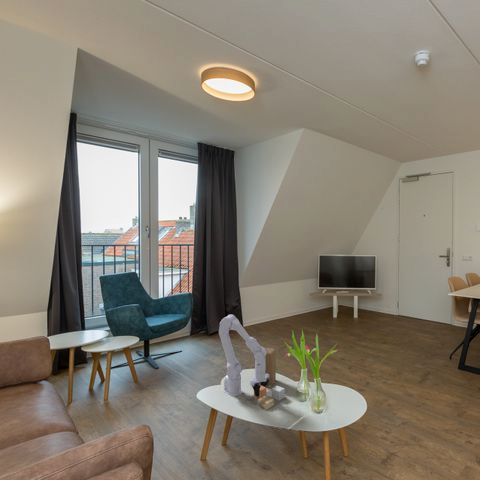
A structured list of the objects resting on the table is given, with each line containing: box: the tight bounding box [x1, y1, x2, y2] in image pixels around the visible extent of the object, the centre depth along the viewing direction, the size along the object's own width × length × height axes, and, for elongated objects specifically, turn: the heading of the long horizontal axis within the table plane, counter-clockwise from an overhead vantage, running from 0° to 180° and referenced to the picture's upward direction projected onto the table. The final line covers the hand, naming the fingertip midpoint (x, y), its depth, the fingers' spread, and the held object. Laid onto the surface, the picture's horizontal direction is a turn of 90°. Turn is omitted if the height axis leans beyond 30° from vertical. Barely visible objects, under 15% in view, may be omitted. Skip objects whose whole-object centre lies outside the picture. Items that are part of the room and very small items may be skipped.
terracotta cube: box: [253, 386, 267, 399], centre depth 180 cm, size 5×5×5 cm
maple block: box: [258, 396, 274, 410], centre depth 171 cm, size 6×6×3 cm
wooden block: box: [258, 346, 277, 387], centre depth 198 cm, size 10×10×20 cm
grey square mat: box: [245, 388, 289, 412], centre depth 177 cm, size 16×18×1 cm
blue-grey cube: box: [271, 385, 285, 400], centre depth 179 cm, size 5×5×5 cm
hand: (260, 394), depth 180 cm, fingers closed on terracotta cube, 5 cm apart
